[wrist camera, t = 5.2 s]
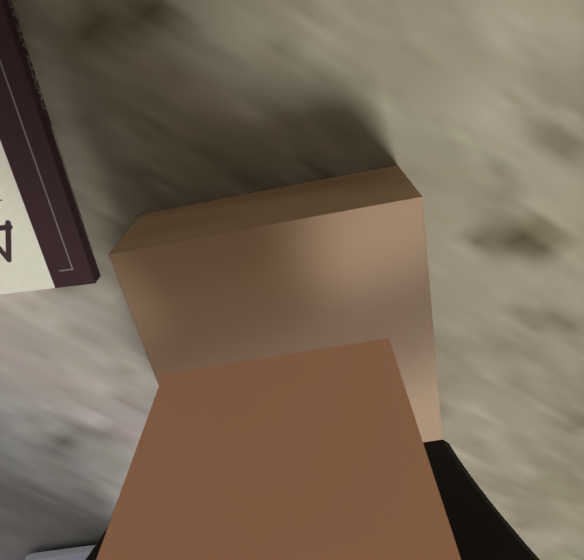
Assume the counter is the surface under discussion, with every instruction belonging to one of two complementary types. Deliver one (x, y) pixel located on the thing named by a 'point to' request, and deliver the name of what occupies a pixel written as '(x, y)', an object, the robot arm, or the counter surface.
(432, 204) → the counter surface
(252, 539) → the terracotta block
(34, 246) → the chocolate bar
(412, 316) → the walnut base block
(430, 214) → the counter surface
